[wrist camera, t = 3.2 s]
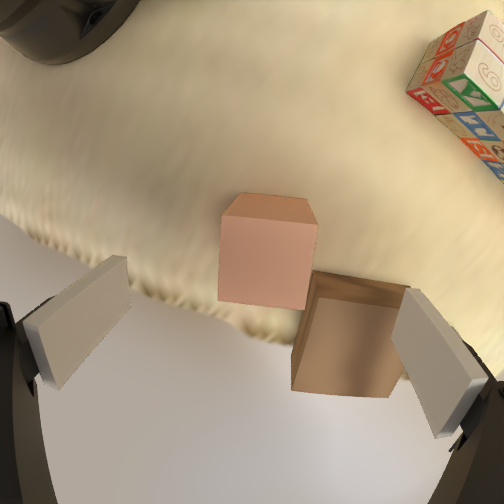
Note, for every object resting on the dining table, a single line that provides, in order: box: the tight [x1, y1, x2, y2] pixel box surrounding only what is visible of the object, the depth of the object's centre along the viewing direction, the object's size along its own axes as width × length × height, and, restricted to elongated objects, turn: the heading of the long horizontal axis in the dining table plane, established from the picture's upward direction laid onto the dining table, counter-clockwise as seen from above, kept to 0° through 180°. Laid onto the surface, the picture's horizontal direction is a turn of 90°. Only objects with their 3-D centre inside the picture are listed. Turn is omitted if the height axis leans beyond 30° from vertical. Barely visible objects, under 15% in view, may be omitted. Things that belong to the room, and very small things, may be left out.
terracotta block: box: [218, 193, 318, 310], centre depth 20 cm, size 5×5×8 cm
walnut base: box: [291, 270, 410, 398], centre depth 24 cm, size 9×9×5 cm
